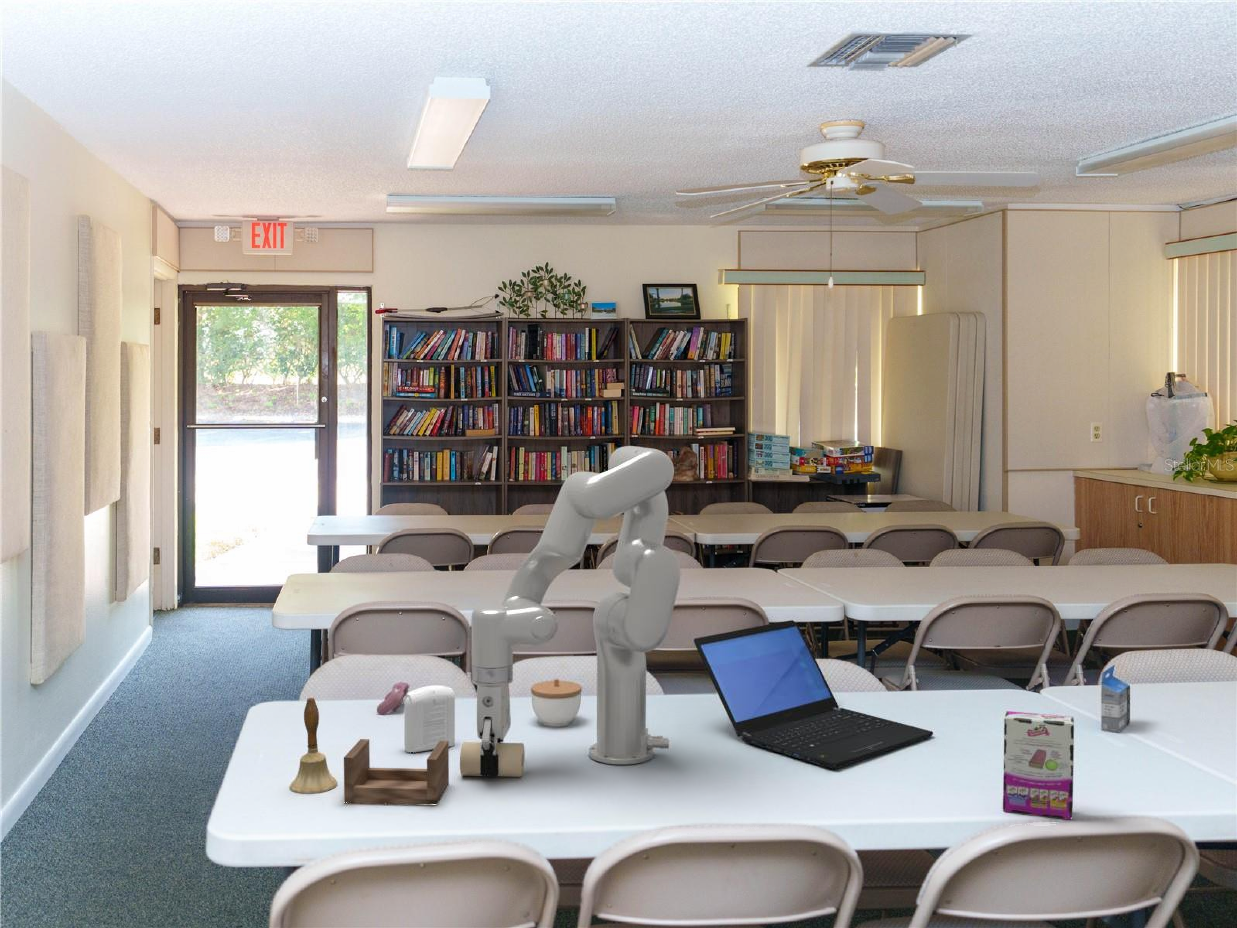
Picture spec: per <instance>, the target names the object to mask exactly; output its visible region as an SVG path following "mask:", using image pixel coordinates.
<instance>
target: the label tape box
mask: <svg viewBox="0 0 1237 928" xmlns="http://www.w3.org/2000/svg"><path fill="white" fill-rule="evenodd" d="M1115 667H1116V665H1111V666H1110V667H1109V668H1107V669H1105V670H1104V671H1103V672H1102V673H1101V680H1100V681H1101V683H1100V685H1101V686H1100V687H1101V688H1100V689H1101V694H1100V703H1101V704H1100V709H1101V710H1100V715H1101V716H1100V718H1101V721H1100V722H1101V723H1100V724H1101V725H1100V727H1101V731H1104V732H1109V733H1118V734H1121V733H1122V731H1124V729H1126V728H1127V726H1128V725H1129V724H1131V686H1130V684H1128V683H1126V682H1124V681H1123V680H1121V679H1119V678H1118V677H1115V676H1114V671H1115Z"/></svg>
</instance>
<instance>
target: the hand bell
mask: <svg viewBox="0 0 1237 928" xmlns="http://www.w3.org/2000/svg"><path fill="white" fill-rule="evenodd" d="M303 711H304V712H303V719H304V725H305V729H306V732H307V733H306V734H307V753H305V754H303V755H302V756H301V757H300V758H299V759H300V760H299V768H298V772H297V774H296V777H295V778H294V779H293V780H292V782H291V783H290V784H289V789H290V791H291V792H293V793H295V794H296V793H297V794H302V795H303V794H304V795H312V794H313V795H314V794H315V793H316V794H321V793H326V792H329V791H331V790H333V789H335V788H336V787H337V786H338V781H337V779H336V778H335V777H334V776H333V775H332V774H331V773H330V770H329V767H328V763H327V756H326V755H325V754H324V753H321V752H320V751H319V748H318V738H317V732H318V727H319V721H320V713H319V712H320V711H319V708H318V705H317V703H316V699H315V698H314V697H308V698H306V704H305V707H304V710H303Z"/></svg>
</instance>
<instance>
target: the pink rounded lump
mask: <svg viewBox="0 0 1237 928" xmlns="http://www.w3.org/2000/svg"><path fill="white" fill-rule="evenodd" d="M409 688H410V685H409V684H408V683H407V682H402V681H400V682H397V683H395V684H393V686H392V690H391V691H389V692H388V693H387V694H386V696H385V697H384V700H382V702H381V703H379V705H378V706H377V708H376V713H377V714H378V713H379V714H378V715H386V714H388V713H390V712H392V711H393V712H396V711H397V709H398V708H399V707H400V706H402V705H403V704H405V696H406V694H407V693H409Z"/></svg>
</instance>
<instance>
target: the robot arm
mask: <svg viewBox="0 0 1237 928" xmlns="http://www.w3.org/2000/svg"><path fill="white" fill-rule="evenodd" d="M607 467H608V470H606V471H603V472H601V473H600V472H599V473H598V472H593V471H585V470H584V471H576V472H574V473H571V474H570V475H569V476H568V477H567V478H565V481H564V482H563V484H562V486H561V488H560V490H559V493H558V495H557V497H556V500H555V502H554V505H553V507H552V510H551V512H550V515H549V517H548V519H547V522H546V525H545V527H544V529H543V532H542V534H541V536H540V539H539V541H538V543H537V545H536V546H535V547H534V548H533V549H532V550H531V551H530V553H529V554H528V556H527V557H526V558H525V559H524V561H523V562H522V563H521V565H520V566H519V568H518V569H517V570H516V572H515V574H514V576H513V577H512V579H511V581H510V584H509V587H508V589H507V591H506V592H505V596H504V599H503V601H502V604H501V605H500V604H487V605H486V604H485V605H481V606H477V607H475V608H474V609H473V611H472V612H471V683H472V684H473V685H476V687H477V688H476V691H477V694H476V735H477V738H479V739H480V740H481V741H480V742H481V754H480V774H481V776H480V777H492V778H493V777H496V778H497V777H499V776H498V754H497V743H504V739H505V737H506V736H507V734H508V732H509V731H510V728H511V724H512V723H511V699H510V698H511V694H510V684H511V683H513V679H514V678H513V677H514V662H513V661H514V656H513V654H514V653H513V652H514V646H531V647H535V646H542V645H546V644H547V643H550V641H552V640H553V639H554V638H555V636H556V635H557V632H558V628H559V622H558V618H557V617H556V615H555V613H554V612H553V611H552V610H551V609H550V608H548V607H547V606H545V605H542V601H543V599H544V596H545V595H546V593H547V591H548V589H549V587H550V586H551V584H552V583H553V582H554V580H556V578H557V577H558V576H559V575H560V574H562V573H564V572H565V571H567V570H569V569H571V568H572V567H573V566H575V565H577V564H578V563H579V562H580V561H581V559H582V558H583V555H584V552H585V551H586V547H587V546H588V543H589V540H590V538H591V535H592V533H593V530H594V528H595V526H596V523H597V521H606V520H609V519H612V518H615V517H617V516H620V515H622V514H623V520H622V525H621V529H620V533H619V537H618V541H617V544H616V548H615V553H614V557H613V561H612V574H613V576H614V578H615V579H616V581H617V582H619V583H620V584H622V585H624V586H626V587H628V588H630V591H629V593H624V592H612V593H609V594H607V595H605V596H604V597H602V598H601V599H600V600H599V602H598V603H597V604H596V607H595V609H594V611H593V617H592V625H593V634H594V640H595V647H596V649H595V650H596V667H597V668H596V671H597V672H596V743H593V744H592V745H591V746H589V747H588V756H589V757H590V758H591V759H592V760H594V761H596V762H599V763H603V764H608V765H624V766H625V765H634V764H635V765H636V764H640V763H644V762H648V761H650V760H651V759H652V758H653V757H654V753H655V752H654V749H655V748H656V749H663V750H664V749H669V747H670V738H665V737H664V736H663V735H652V734H651V733H650V734H649V728H647V714H646V713H647V659H646V658H647V657H646V653H650V652H651V651H653V650H655V649H657V648H658V647H659V646H660V645H661V644H662V642H663V641H664V639H665V637H666V635H667V633H668V630H669V628H670V624H671V623H670V622H671V620H672V616H673V611H674V607H675V605H676V600H677V595H678V591H679V586H680V584H681V583H680V581H681V575H682V574H681V573H682V572H681V565H680V561H679V558H678V557H677V555H676V553H675V552H674V551H673V550H672V549H670V548H669V546H665V545H664V541H665V536H666V531H667V524H668V520H669V504H668V503H669V502H668V498H667V494H666V489H667V488H669V486H670V485H671V483H672V481H673V479H674V474H675V468H674V463H673V461H672V459H671V458H670V457H669V455H667V454H666V453H665V452H664V451H662V450H660V449H656V448H650V447H642V446H634V445H626V446H621V447H618V448H617V449H615V450H614V451H613V452H612V453H611V455H610V457H609V459H608V465H607ZM490 742H492V743H493V745H492V743H490Z"/></svg>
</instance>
